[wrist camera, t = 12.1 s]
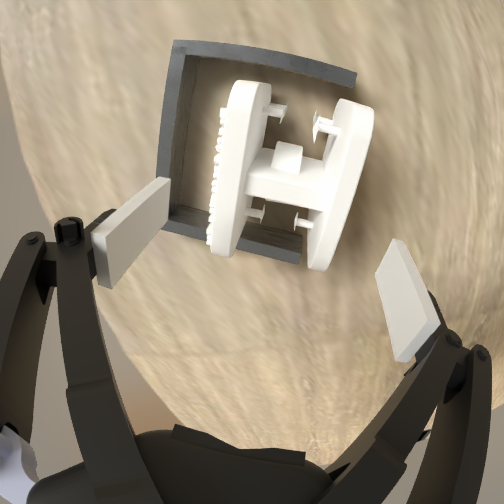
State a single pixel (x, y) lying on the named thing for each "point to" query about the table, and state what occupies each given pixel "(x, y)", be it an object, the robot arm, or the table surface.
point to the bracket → (175, 133)
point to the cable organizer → (285, 171)
